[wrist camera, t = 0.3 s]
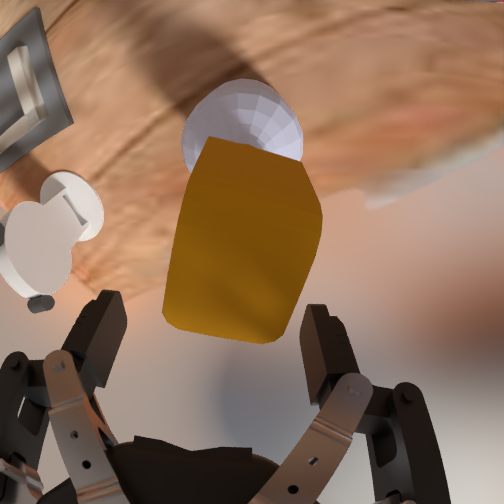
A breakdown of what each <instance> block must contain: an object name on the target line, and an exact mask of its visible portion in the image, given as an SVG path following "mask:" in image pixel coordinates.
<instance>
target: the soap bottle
mask: <svg viewBox="0 0 504 504" xmlns="http://www.w3.org/2000/svg"><path fill="white" fill-rule="evenodd" d="M181 146H182V153H183V159H184V162H185V164H186V166H187V167H188V169H189V171H190V173H191V176H190V178H189V181H188V184H187V188H186V191H185V194H184V198H183V202H182V206H181V210H180V214H179V218H178V223H177V228H176V233H175V238H174V243H173V248H172V254H171V259H170V265H169V271H168V277H167V283H166V289H165V296H164V302H163V309H162V313H163V315H164V317H165V319H166V321H167V322H168V323H169V324H171V325H173V326H174V327H175V328H177V329H180V330H184V331H190V332H194V333H199V334H204V335H209V336H215V337H221V338H226V339H232V340H239V341H244V342H251V343H257V344H265V343H269V342H274V341H275V340H277V339H278V338H280V337H281V336H282V335H283V334H284V332H285V329H286V327H287V325H288V322H289V320H290V318H291V315H292V313H293V310H294V308H295V306H296V304H297V301H298V298H299V296H300V294H301V291H302V289H303V287H304V284H305V281H306V279H307V276H308V274H309V271H310V269H311V266H312V264H313V261H314V258H315V256H316V252H317V248H318V244H319V241H320V237H321V231H322V218H323V217H322V210H321V205H320V202H319V200H318V198H317V195H316V193H315V191H314V188H313V186H312V184H311V182H310V179H309V177H308V175H307V173H306V171H305V168H304V166H303V164H302V162H300V159H301V157H302V154H303V132H302V130H301V127H300V124H299V122H298V119H297V117H296V114H295V113H294V112H293V111H292V110H291V108H290V107H289V106H288V105H287V103H286V102H285V101H284V100H283V99H282V98H281V96H280V95H279V94H278V93H277V92H276V91H275V90H274V89H273V88H272V87H270V86H268V85H266V84H264V83H262V82H260V81H258V80H252V79H242V78H241V79H236V80H232V81H228V82H225V83H223V84H222V85H220V86H219V87H217V88H216V89H214V90H213V91H212V92H211V93H209V94H208V95H207V96H206V97H205V98H204V99H203V100H201V101H200V102H199V103H198V104H197V105H196V107H195V108H194V110H193V111H192V113H191V114H190V115H189V117H188V118H187V120H186V121H185V125H184V129H183V134H182V138H181Z"/></svg>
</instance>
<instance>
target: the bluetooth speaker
mask: <svg viewBox="0 0 504 504" xmlns="http://www.w3.org/2000/svg"><path fill="white" fill-rule="evenodd" d="M468 1H490V2H495V3H504V0H468Z"/></svg>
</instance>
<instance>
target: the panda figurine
mask: <svg viewBox="0 0 504 504" xmlns="http://www.w3.org/2000/svg"><path fill="white" fill-rule="evenodd" d="M103 221H104V210H103V205H102V202H101V200H100V197H99V195H98V194H97V192H96V190H95V189H94V188H93V186H92V185H91V184H90V183H89V182H88V181H87V180H85V179H84V178H83V177H81V176H79V175H78V174H75V173H73V172H68V171H60V172H56V173H54V174H52V175H50V176H49V177H48V178H47V179H46V180H45V181H44V183H43V185H42V187H41V191H40V203H37V202H33V201H25V202H21V203H19V204H17V205H16V206H15V207H14V208H13V209H11V210H10V211H9V212H8V213H7V214H6V215H4V216H3V218H2V219H1V220H0V273H1V274H2V276H3V278H4V279H5V280H6V282H7V283H8V284H9V285H10V286H11V287H12V288H13V289H14V290H15V291H16V292H17V293H18V294H20V295H21V296H23V297H25V298H28V299H30V300H29V301H28V304H27V305H28V308H29V310H30V311H31V312H32V313H39V312H43V311H48V310H51V309H52V308H53V306H54V304H55V301H54V299H53V298H52V296H50V295H51V294H53V293H55V292H56V291H57V290H59V289H60V288H61V287H62V286H63V285H64V284H65V282H66V281H67V279H68V277H69V275H70V271H71V266H72V256H71V249H72V248H73V246H74V245H75V243H76V242H77V241H86V240H90V239H92V238H93V237H95V236H96V235H97V234H98V232H99V231H100V229H101V227H102V225H103Z"/></svg>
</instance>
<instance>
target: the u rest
mask: <svg viewBox="0 0 504 504" xmlns="http://www.w3.org/2000/svg"><path fill="white" fill-rule="evenodd" d="M73 123H74V122H73V119H72V116H71V114H70V111H69V109H68V106H67V103H66V100H65V97H64V95H63V92H62V89H61V86H60V83H59V80H58V77H57V74H56V70H55V67H54V64H53V61H52V57H51V54H50V50H49V46H48V43H47V39H46V35H45V31H44V26H43V22H42V18H41V13H40V8H35V9H33V10H32V11H31V12H30V13H29V14H28V15H26V16H25V17H24V18H23V19H22V20H21V21H20V22H19V23H17V24H16V25H15V26H14V27H13V28H12V29H11V30H10V31H9V32H8V33H7V34H6V35H5V36H4V37H3V38H2V39H1V40H0V173H1V172H3V171H4V170H5V169H6V168H8V167H9V166H10V165H12V164H13V163H14V162H16V161H17V160H18V159H20V158H21V157H22V156H24V155H25V154H26V153H28V152H29V151H31V150H32V149H34V148H35V147H36V146H38V145H39V144H41V143H42V142H44V141H45V140H47V139H49V138H50V137H52V136H53V135H55V134H57V133H58V132H60V131H61V130H63V129H65V128H66V127H68V126H70V125H72V124H73Z"/></svg>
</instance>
